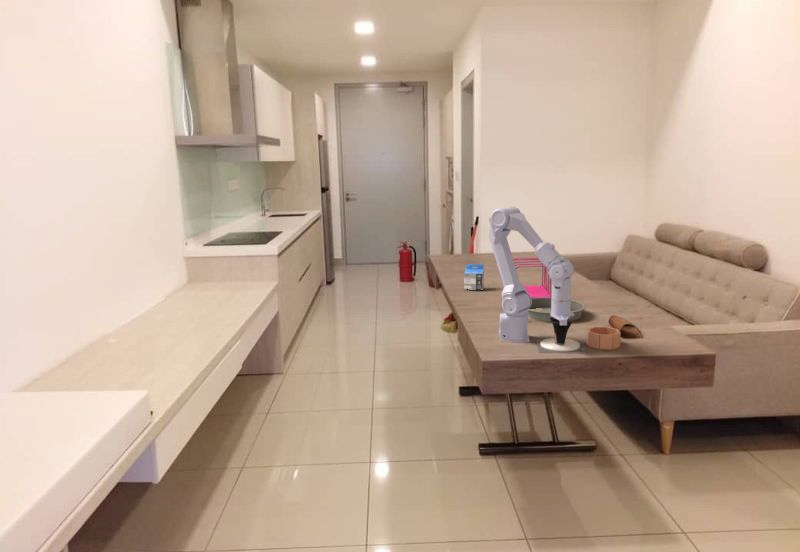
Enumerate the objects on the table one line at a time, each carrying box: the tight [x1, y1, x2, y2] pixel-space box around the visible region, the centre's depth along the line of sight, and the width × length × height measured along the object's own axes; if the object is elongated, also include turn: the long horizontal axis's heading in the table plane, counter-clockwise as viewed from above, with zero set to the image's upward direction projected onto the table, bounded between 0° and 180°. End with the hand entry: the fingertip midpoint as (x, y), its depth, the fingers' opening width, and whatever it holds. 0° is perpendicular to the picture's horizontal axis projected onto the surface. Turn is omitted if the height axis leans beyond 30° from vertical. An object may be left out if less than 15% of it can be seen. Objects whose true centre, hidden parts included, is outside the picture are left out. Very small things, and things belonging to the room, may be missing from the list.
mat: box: [534, 338, 587, 355], centre depth 176 cm, size 14×14×1 cm
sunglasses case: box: [608, 314, 644, 340], centre depth 192 cm, size 18×7×7 cm
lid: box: [540, 333, 580, 352], centre depth 176 cm, size 12×12×4 cm
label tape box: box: [463, 263, 485, 291], centre depth 263 cm, size 9×4×12 cm, turn 71°
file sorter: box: [513, 257, 552, 299], centre depth 250 cm, size 17×25×16 cm
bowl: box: [585, 325, 621, 350], centre depth 176 cm, size 10×10×5 cm
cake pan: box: [528, 297, 587, 323], centre depth 215 cm, size 25×25×4 cm
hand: (559, 341), depth 176 cm, fingers closed on lid, 3 cm apart
